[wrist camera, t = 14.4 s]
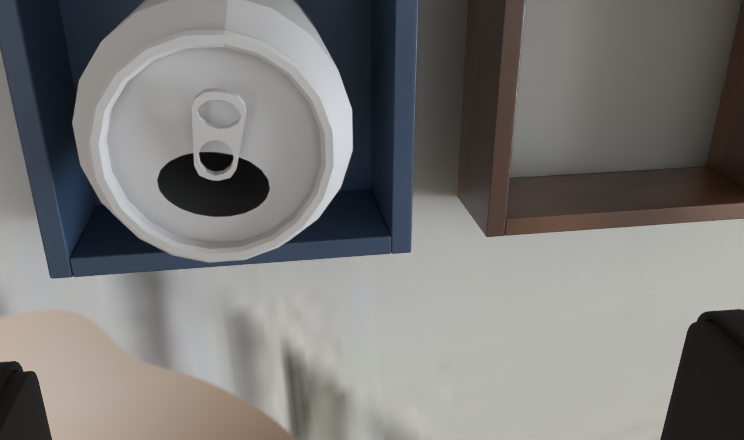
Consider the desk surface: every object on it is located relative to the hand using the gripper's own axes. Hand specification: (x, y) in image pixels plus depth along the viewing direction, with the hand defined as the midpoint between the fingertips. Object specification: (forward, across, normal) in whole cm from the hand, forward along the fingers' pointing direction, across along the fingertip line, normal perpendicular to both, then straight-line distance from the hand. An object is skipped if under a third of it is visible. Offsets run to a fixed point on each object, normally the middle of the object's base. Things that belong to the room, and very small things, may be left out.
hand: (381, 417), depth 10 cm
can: (+21, +3, -1) cm, 22 cm away
